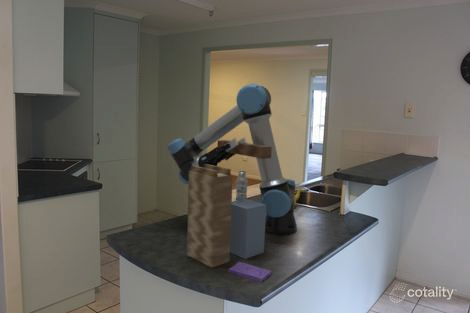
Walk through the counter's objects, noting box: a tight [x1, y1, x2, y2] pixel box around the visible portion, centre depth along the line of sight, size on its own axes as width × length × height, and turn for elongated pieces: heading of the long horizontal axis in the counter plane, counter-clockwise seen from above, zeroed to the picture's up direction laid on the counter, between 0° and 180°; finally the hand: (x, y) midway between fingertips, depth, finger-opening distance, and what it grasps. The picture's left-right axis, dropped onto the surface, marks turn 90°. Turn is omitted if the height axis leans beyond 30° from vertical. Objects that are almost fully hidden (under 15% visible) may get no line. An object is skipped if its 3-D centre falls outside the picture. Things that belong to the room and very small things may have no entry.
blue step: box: [230, 198, 266, 260], centre depth 143 cm, size 10×10×18 cm
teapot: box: [294, 186, 304, 206], centre depth 209 cm, size 14×14×12 cm
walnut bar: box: [217, 139, 272, 159], centre depth 141 cm, size 24×4×4 cm, turn 44°
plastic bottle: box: [234, 170, 249, 202], centre depth 202 cm, size 6×7×20 cm
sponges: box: [228, 261, 272, 283], centre depth 126 cm, size 7×13×2 cm, turn 58°
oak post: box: [186, 164, 234, 269], centre depth 134 cm, size 14×8×33 cm, turn 44°
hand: (240, 141), depth 142 cm, fingers closed on walnut bar, 4 cm apart
